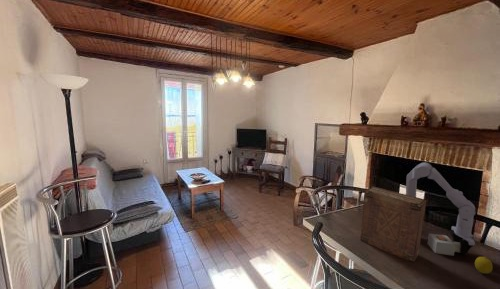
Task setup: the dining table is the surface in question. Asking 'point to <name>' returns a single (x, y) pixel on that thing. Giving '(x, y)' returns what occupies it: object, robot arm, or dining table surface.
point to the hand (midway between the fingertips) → (460, 249)
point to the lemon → (483, 265)
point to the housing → (441, 245)
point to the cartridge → (457, 247)
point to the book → (393, 222)
